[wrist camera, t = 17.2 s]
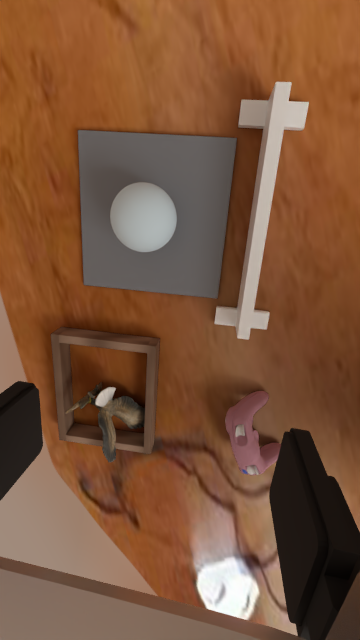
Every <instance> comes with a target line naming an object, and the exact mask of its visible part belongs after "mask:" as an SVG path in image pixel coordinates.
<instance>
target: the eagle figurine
mask: <svg viewBox="0 0 360 640" xmlns="http://www.w3.org/2000/svg"><path fill="white" fill-rule="evenodd" d="M101 389H102V382H100V383H99V385H96V388H94V390H92V391H91V392H88V394H87V395H86V396H85V397H83V398H82V399H80V400H79V401H78V402H77V403H75V404H74V405H73V406H72V407H70V408H69V409H68V410H67V411H66V412H65V413H69V412H71V411H73V410H74V409H76V408H78V407H79V406H80V409H82V408H83V407H84V406H85V405H86V404H88V403H91V404H92V405H95V406H96V407H97V408H98V409H99V411H100V412H99V414H98V423H99V427H100V428H101V429H102V433H103V436H102V438H103V448H102V450H103V453H105V454H104V455H105V457H106V458H107V460H108V462H113V461H114V460H115V459H116V457H115V456H116V452H115V451H116V448H115V441H116V433H115V428H114V425H113V422H112V418H111V417H112V415H114V416H116V417H118V418H119V419H121V420H122V421H123V422H124V423H126V424H127V425H128V427H129V428H130V429H133V428H135V429H137V428H142V427H144V425H145V408H142V407H141V406H140V405H138V404H137V403H136V402H134V400H133V399H132V398H130V397H127V396H122V397H118V398H117V399H116V398H114V399H112V398H113V395H114V392H115V390H116V388H114V387H107V388H106V389H104V390H102V391H101ZM97 394H99V395H98V396H97V398H96V399H94V397H95V396H96V395H97Z"/></svg>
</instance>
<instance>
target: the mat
mask: <svg viewBox="0 0 360 640" xmlns="http://www.w3.org/2000/svg"><path fill="white" fill-rule="evenodd" d="M236 141H237V138H227V137H207V136H187V135H167V134H147V133H127V132H108V131H88V130H78V147H79V173H80V199H81V225H82V251H83V277H84V285H90V286H100V287H109V288H119V289H129V290H139V291H149V292H158V293H168V294H178V295H188V296H197V297H207V298H217V299H218V291H219V282H220V274H221V266H222V257H223V249H224V241H225V233H226V224H227V216H228V208H229V199H230V191H231V183H232V175H233V166H234V158H235V150H236ZM138 182H146V183H151V184H154V185H156V186H158V187H160V188H161V189H163V190H164V191H165V192H166V193H167V194H168V195H169V197H170V198H171V199H172V201H173V203H174V206H175V209H176V215H177V223H176V228H175V231H174V234H173V236H172V237H171V239H170V240H169V241H168V242H167V243H166V244H165V245H164V246H163V247H161V248H160V249H158V250H155V251H152V252H138V251H135V250H132V249H130V248H128V247H127V246H125V245H124V244H123V243H122V242H121V241H120V240H119V239H118V238H117V236H116V235H115V233H114V231H113V228H112V225H111V220H110V211H111V206H112V203H113V201H114V199H115V197H116V196H117V194H118V193H119V192H120V191H121V190H122V189H123V188H125V187H126V186H128V185H130V184H133V183H138Z"/></svg>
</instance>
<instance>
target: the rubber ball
mask: <svg viewBox="0 0 360 640" xmlns="http://www.w3.org/2000/svg"><path fill="white" fill-rule="evenodd" d="M110 220H111V225H112V228H113V231H114V233H115V235H116V236H117V238H118V239H119V240H120V241H121V242H122V243H123V244H124V245H125V246H127V247H128V248H130V249H132V250H135V251H138V252H152V251H155V250H158V249H160V248H161V247H163V246H164V245H165V244H166V243H167V242H168V241H169V240H170V239H171V237H172V236H173V234H174V231H175V228H176V223H177V215H176V209H175V206H174V203H173V201H172V199H171V198H170V197H169V195H168V194H167V193H166V192H165V191H164V190H163V189H161V188H160V187H158V186H156V185H154V184H151V183H146V182H138V183H133V184H130V185H128V186H126V187H125V188H123V189H122V190H121V191H120V192H119V193H118V194H117V196H116V197H115V199H114V201H113V203H112V206H111V211H110Z"/></svg>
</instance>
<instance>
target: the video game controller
mask: <svg viewBox="0 0 360 640" xmlns="http://www.w3.org/2000/svg"><path fill="white" fill-rule="evenodd" d="M268 399H269V395H268V393H267V392H265V391H257V392H253V393H251V394H249V395H247V396H245V397H244V398H243V399H241V400H240V401H239V402H238V403H237V404H236V405H235V406H233V407H230V408H229V410H228V412H227V415H226V418H225V423H226V430H227V432H228V434H229V435H230V440H231V446H232V449H233V453H234V456H235V459H236V461H237V463H238V465H239V469H240V471H241V473H244V474H249V475H258V474H262V473H263V472H264V471H265V470H266V469H267V468H268V467H269V466H270V465H272V464H273V463H274V462H276V461H277V459H278V455H279V451H280V447H281V444H279V443H269V444H267V445H264V446H262V447H259V444H258V442H259V434H258V432H257V430H253V429H252V424H253V415H254V414H255V413H256V412H257V411H258V410H259V409H260V408H261V407H263V406H264V405H265V404H266V402H267V401H268Z"/></svg>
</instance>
